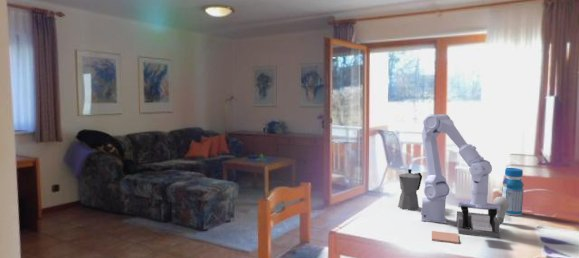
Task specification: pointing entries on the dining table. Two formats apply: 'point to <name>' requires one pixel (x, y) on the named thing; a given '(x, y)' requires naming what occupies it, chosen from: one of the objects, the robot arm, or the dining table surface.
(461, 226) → the socket block
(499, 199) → the lightbulb
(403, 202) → the coffeepot
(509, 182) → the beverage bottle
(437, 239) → the mat
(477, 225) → the clip
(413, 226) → the dining table surface
